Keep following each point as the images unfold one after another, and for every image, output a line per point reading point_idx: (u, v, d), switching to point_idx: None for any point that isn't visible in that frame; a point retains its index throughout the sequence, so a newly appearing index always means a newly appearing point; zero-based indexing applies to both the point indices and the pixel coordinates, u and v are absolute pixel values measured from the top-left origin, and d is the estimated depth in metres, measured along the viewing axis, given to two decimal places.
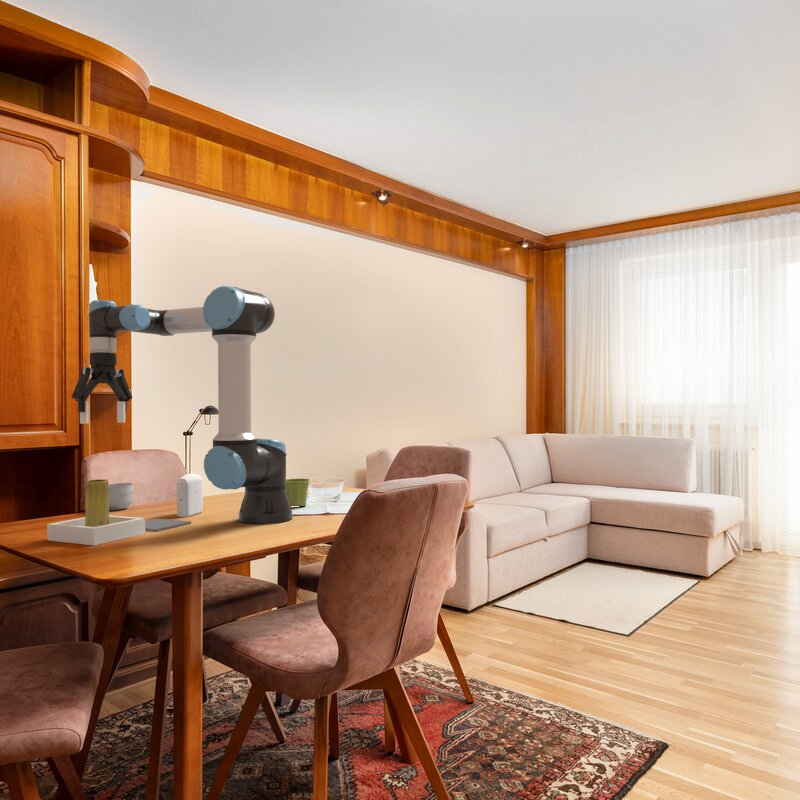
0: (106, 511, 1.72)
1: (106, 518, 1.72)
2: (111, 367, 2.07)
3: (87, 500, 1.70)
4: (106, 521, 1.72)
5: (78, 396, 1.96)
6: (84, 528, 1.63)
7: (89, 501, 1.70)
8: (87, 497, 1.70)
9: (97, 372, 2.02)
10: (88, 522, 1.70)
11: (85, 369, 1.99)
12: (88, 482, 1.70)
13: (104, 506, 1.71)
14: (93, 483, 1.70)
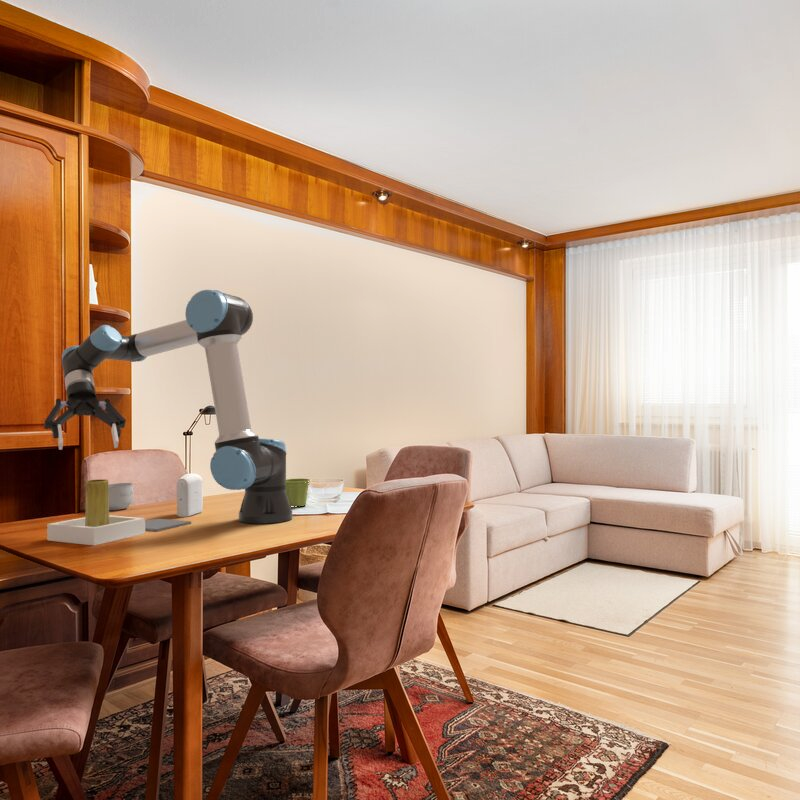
0: (106, 511, 1.72)
1: (106, 518, 1.72)
2: (91, 398, 1.92)
3: (87, 500, 1.70)
4: (106, 521, 1.72)
5: (46, 421, 1.80)
6: (84, 528, 1.63)
7: (89, 501, 1.70)
8: (87, 497, 1.70)
9: (71, 402, 1.88)
10: (88, 522, 1.70)
11: None
12: (88, 482, 1.70)
13: (104, 506, 1.71)
14: (93, 483, 1.70)
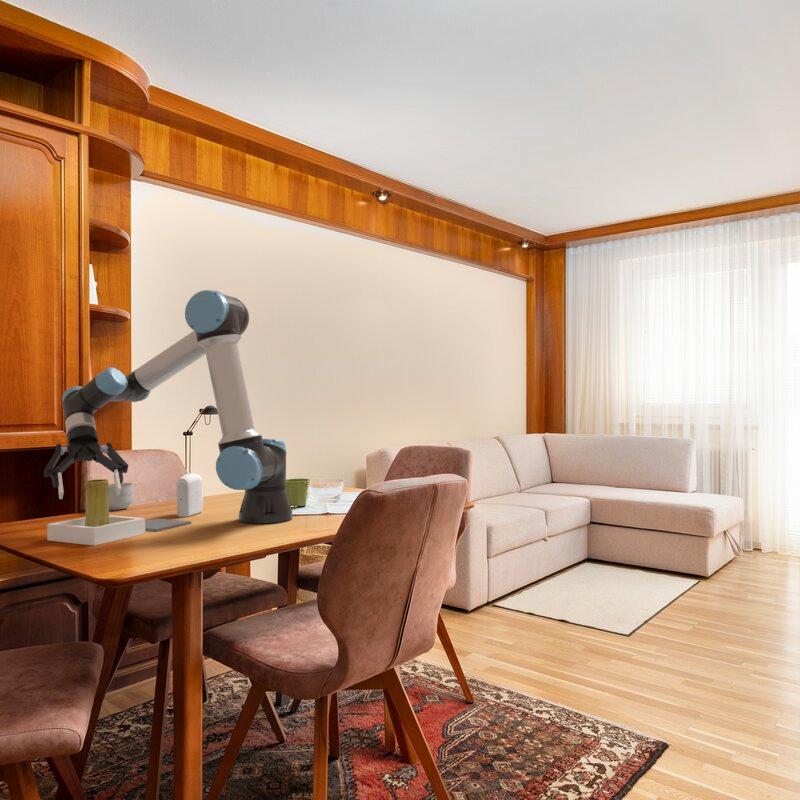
0: (106, 511, 1.72)
1: (106, 518, 1.72)
2: (92, 442, 1.86)
3: (87, 500, 1.70)
4: (106, 521, 1.72)
5: (46, 469, 1.74)
6: (84, 528, 1.63)
7: (89, 501, 1.70)
8: (87, 497, 1.70)
9: (72, 447, 1.82)
10: (88, 522, 1.70)
11: (56, 447, 1.81)
12: (88, 482, 1.70)
13: (104, 506, 1.71)
14: (93, 483, 1.70)
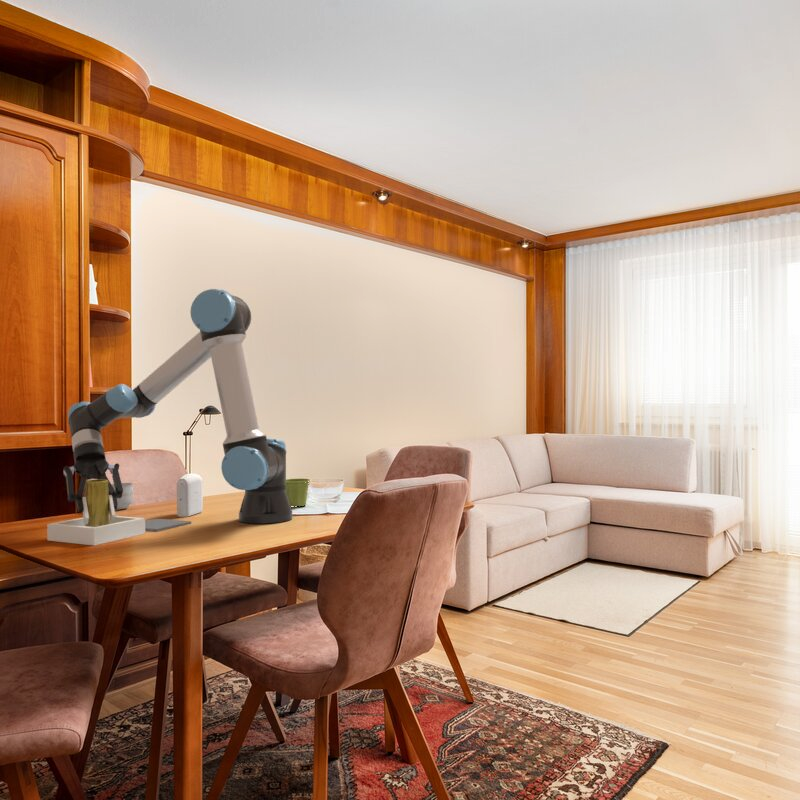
0: (106, 511, 1.72)
1: (106, 518, 1.72)
2: (99, 459, 1.81)
3: (87, 500, 1.70)
4: (106, 521, 1.72)
5: (70, 494, 1.70)
6: (84, 528, 1.63)
7: (89, 501, 1.70)
8: (87, 497, 1.70)
9: (79, 465, 1.77)
10: (88, 522, 1.70)
11: (64, 470, 1.75)
12: (88, 482, 1.70)
13: (104, 506, 1.71)
14: (93, 483, 1.70)
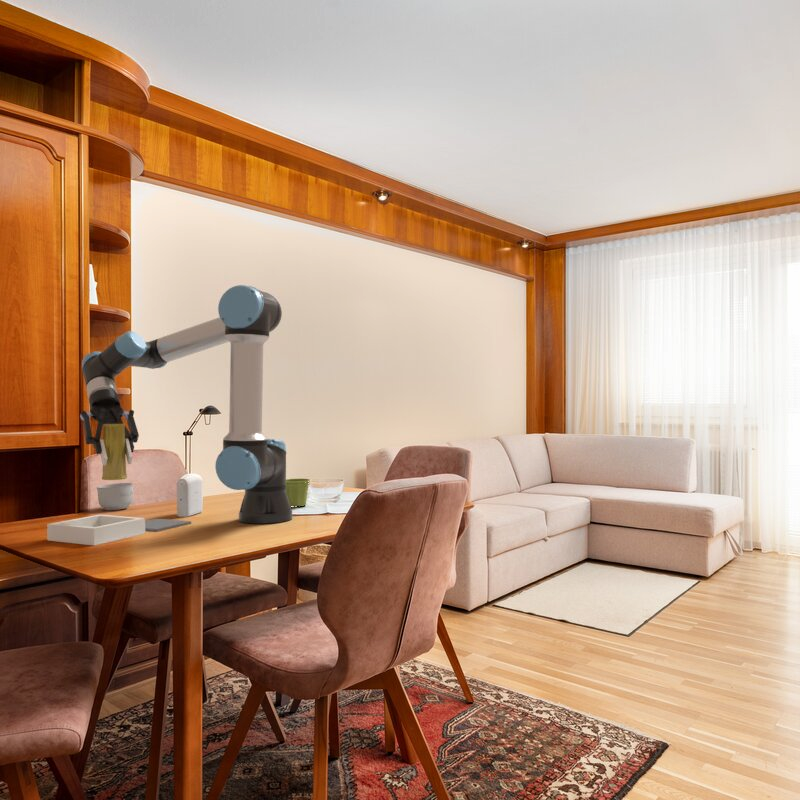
0: (123, 453, 1.77)
1: (123, 460, 1.77)
2: (114, 405, 1.86)
3: (105, 442, 1.75)
4: (123, 463, 1.77)
5: (88, 436, 1.75)
6: (84, 528, 1.63)
7: (107, 443, 1.75)
8: (104, 439, 1.75)
9: (95, 410, 1.82)
10: (106, 464, 1.75)
11: (81, 414, 1.80)
12: (105, 425, 1.75)
13: (121, 448, 1.76)
14: (110, 426, 1.75)
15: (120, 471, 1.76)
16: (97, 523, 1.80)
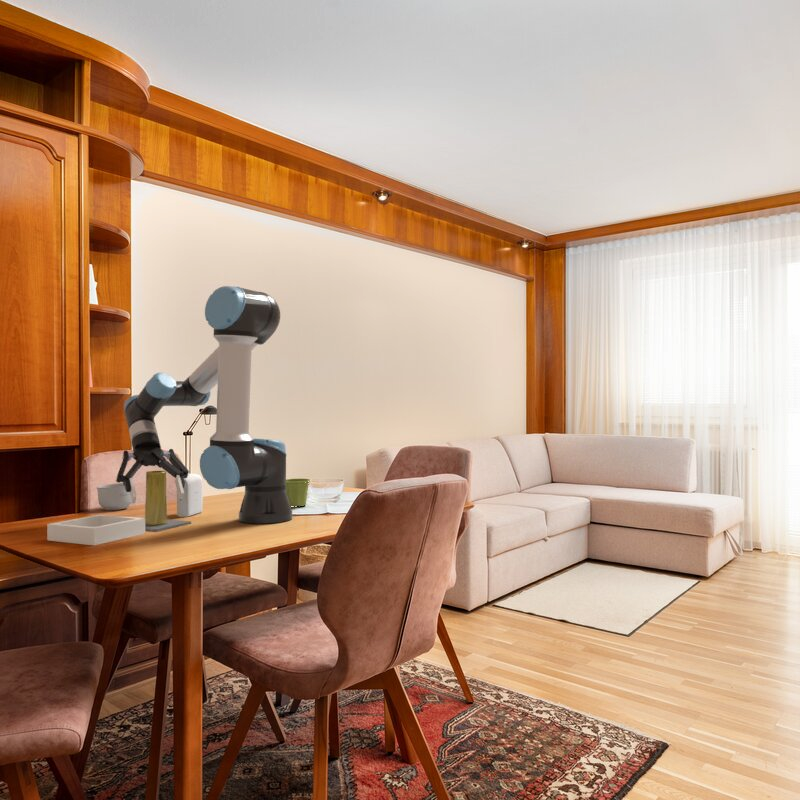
0: (164, 499, 1.87)
1: (164, 506, 1.87)
2: (155, 448, 1.97)
3: (147, 489, 1.86)
4: (164, 509, 1.87)
5: (118, 475, 1.85)
6: (84, 528, 1.63)
7: (149, 490, 1.86)
8: (147, 487, 1.86)
9: (138, 453, 1.93)
10: (148, 509, 1.85)
11: (123, 454, 1.91)
12: (149, 473, 1.86)
13: (163, 495, 1.87)
14: (153, 474, 1.85)
15: (162, 517, 1.86)
16: (97, 523, 1.80)
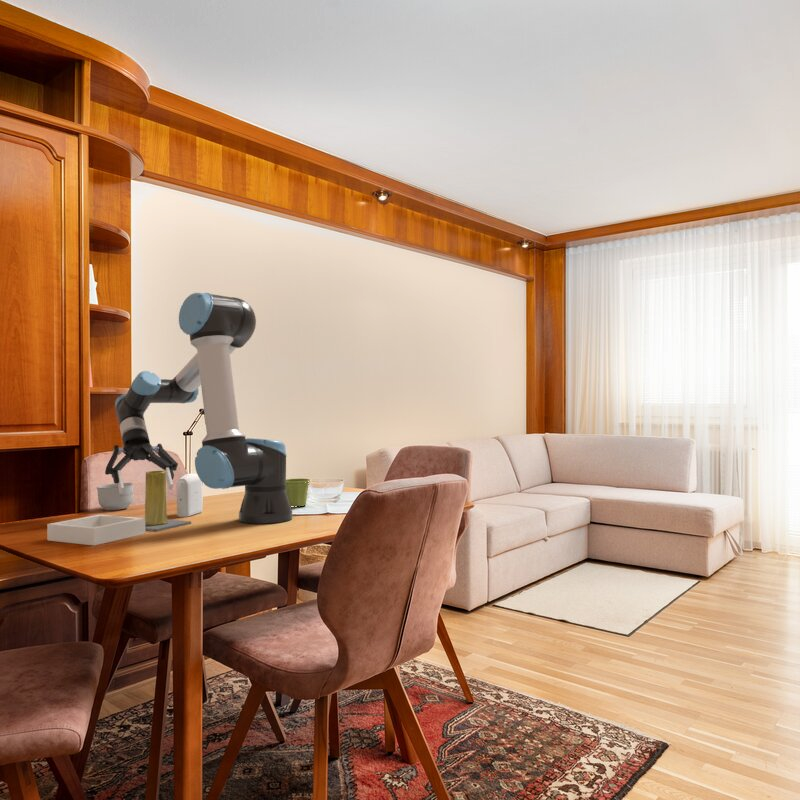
0: (164, 499, 1.87)
1: (164, 506, 1.87)
2: (145, 443, 2.07)
3: (147, 489, 1.86)
4: (164, 509, 1.87)
5: (107, 467, 1.95)
6: (84, 528, 1.63)
7: (149, 490, 1.86)
8: (147, 487, 1.86)
9: (128, 448, 2.04)
10: (148, 510, 1.85)
11: None
12: (148, 473, 1.86)
13: (162, 495, 1.87)
14: (153, 474, 1.85)
15: (162, 517, 1.86)
16: (97, 523, 1.80)
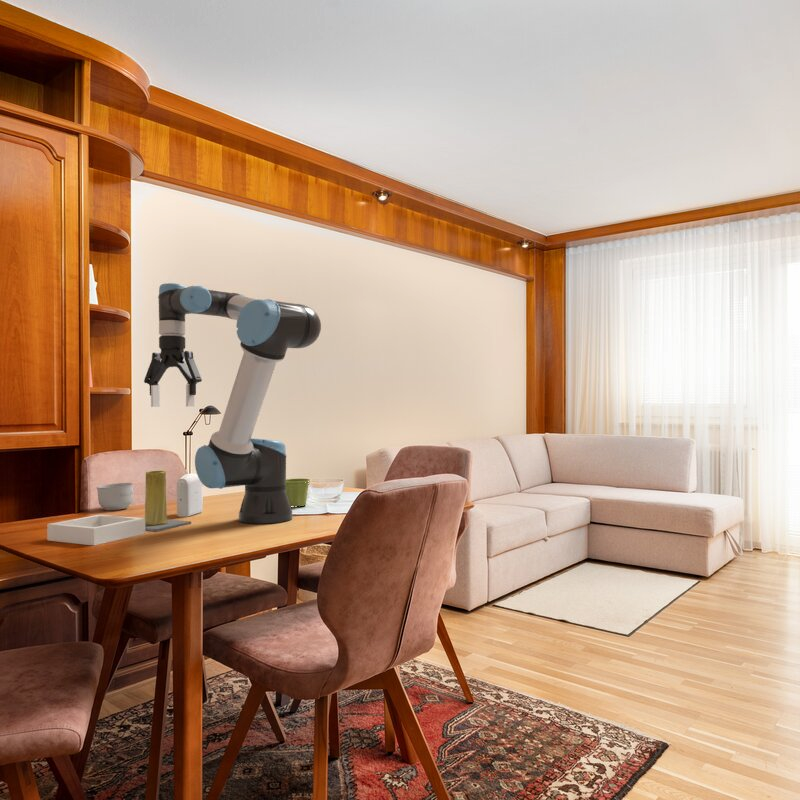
0: (164, 499, 1.87)
1: (164, 506, 1.87)
2: (175, 350, 2.03)
3: (147, 489, 1.86)
4: (164, 509, 1.87)
5: (144, 381, 2.08)
6: (84, 528, 1.63)
7: (149, 490, 1.86)
8: (147, 487, 1.86)
9: (161, 356, 2.05)
10: (148, 510, 1.85)
11: None
12: (148, 473, 1.86)
13: (162, 495, 1.87)
14: (153, 474, 1.85)
15: (162, 517, 1.86)
16: (97, 523, 1.80)
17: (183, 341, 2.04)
